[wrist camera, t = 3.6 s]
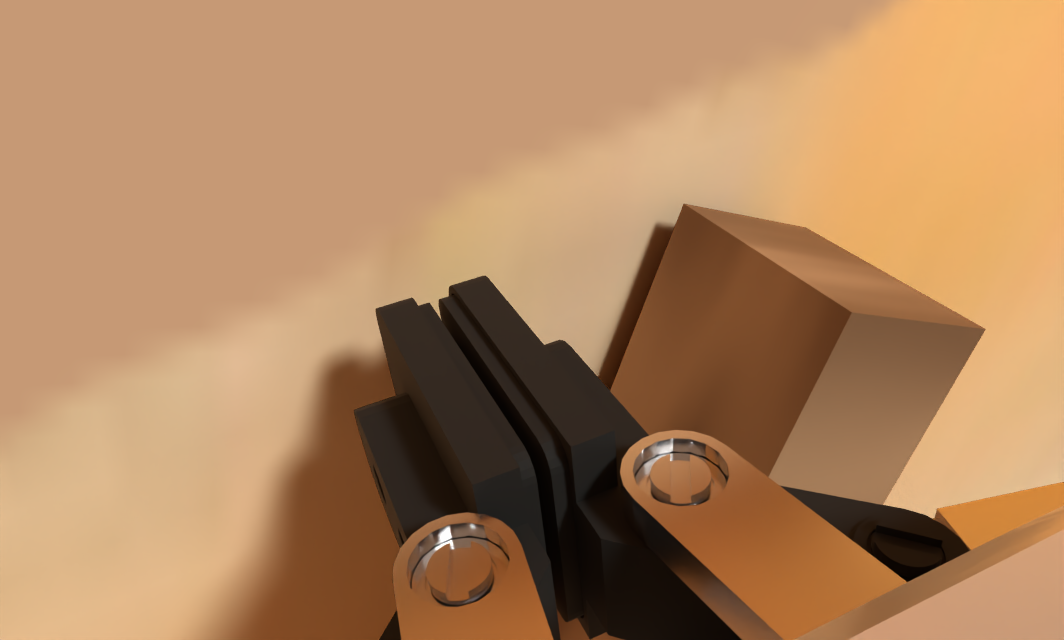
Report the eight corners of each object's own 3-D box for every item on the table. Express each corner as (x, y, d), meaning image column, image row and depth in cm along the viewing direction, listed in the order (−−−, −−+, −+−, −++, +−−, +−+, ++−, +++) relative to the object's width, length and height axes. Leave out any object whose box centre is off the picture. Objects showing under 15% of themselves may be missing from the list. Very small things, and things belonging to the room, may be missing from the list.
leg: (562, 773, 21) (638, 936, 18) (437, 803, 19) (497, 989, 16) (816, 229, 15) (996, 330, 12) (670, 200, 13) (836, 310, 10)
